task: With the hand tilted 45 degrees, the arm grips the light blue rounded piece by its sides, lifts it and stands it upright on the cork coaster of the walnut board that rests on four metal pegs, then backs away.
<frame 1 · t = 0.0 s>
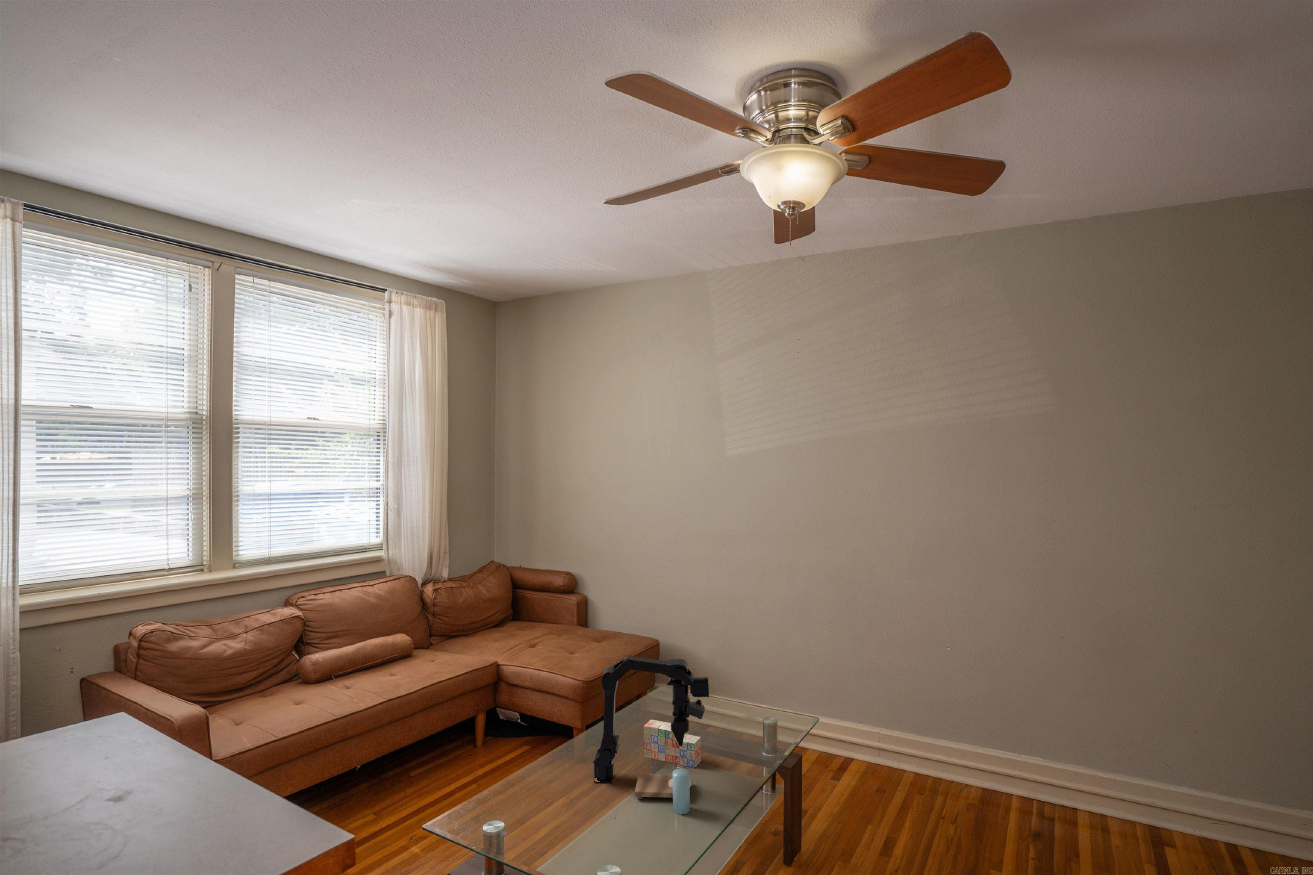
hand: (681, 739, 248), 15 cm above the table, tool pointing down, fingers open, 9 cm apart
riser: (662, 791, 241), on the table
light blue rounded piece: (681, 810, 229), on the table
stack of blocks: (672, 759, 265), on the table
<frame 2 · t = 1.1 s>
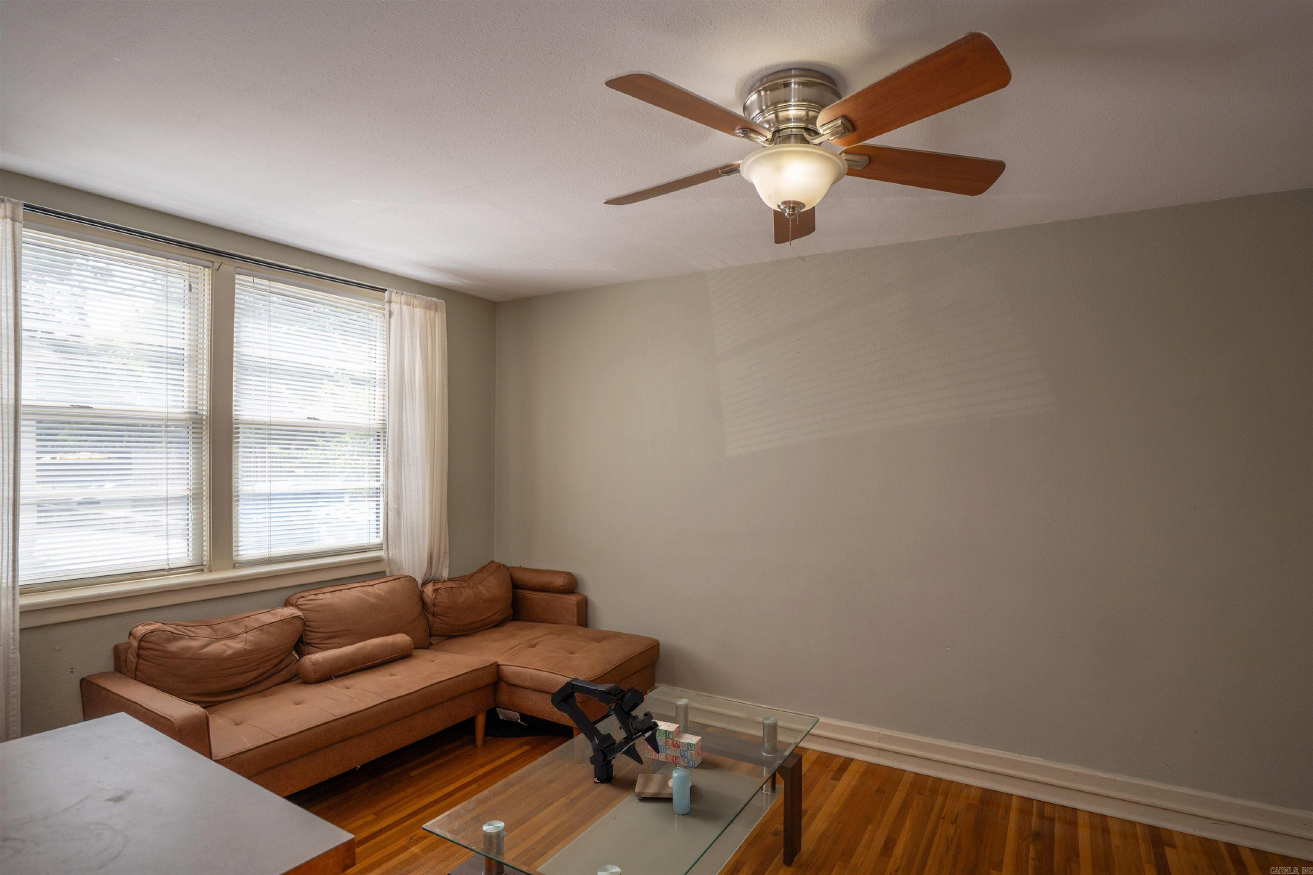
hand: (650, 758, 237), 13 cm above the table, tool tilted 45°, fingers open, 9 cm apart
nothing on the table moved.
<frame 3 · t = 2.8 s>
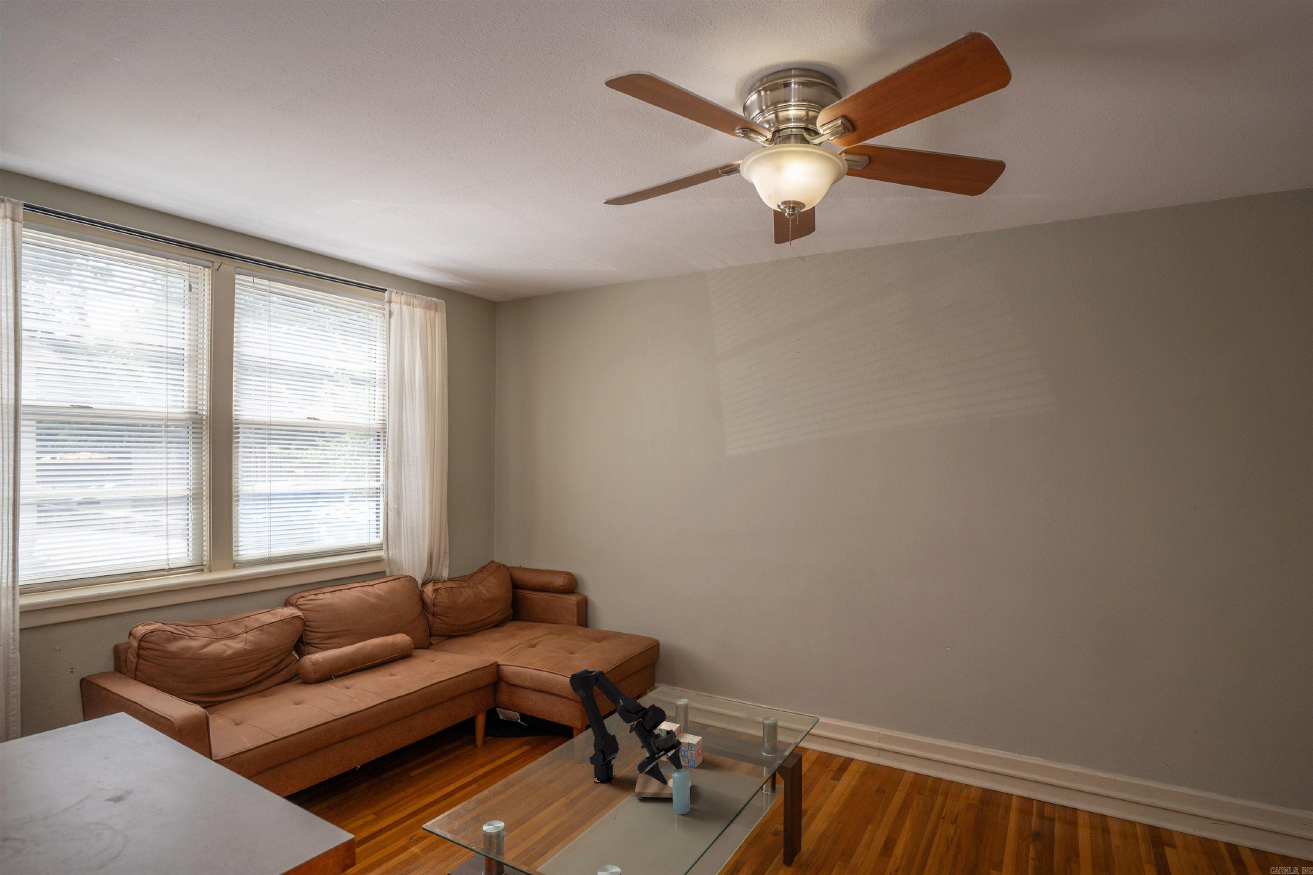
hand: (674, 778, 231), 10 cm above the table, tool tilted 45°, fingers open, 9 cm apart
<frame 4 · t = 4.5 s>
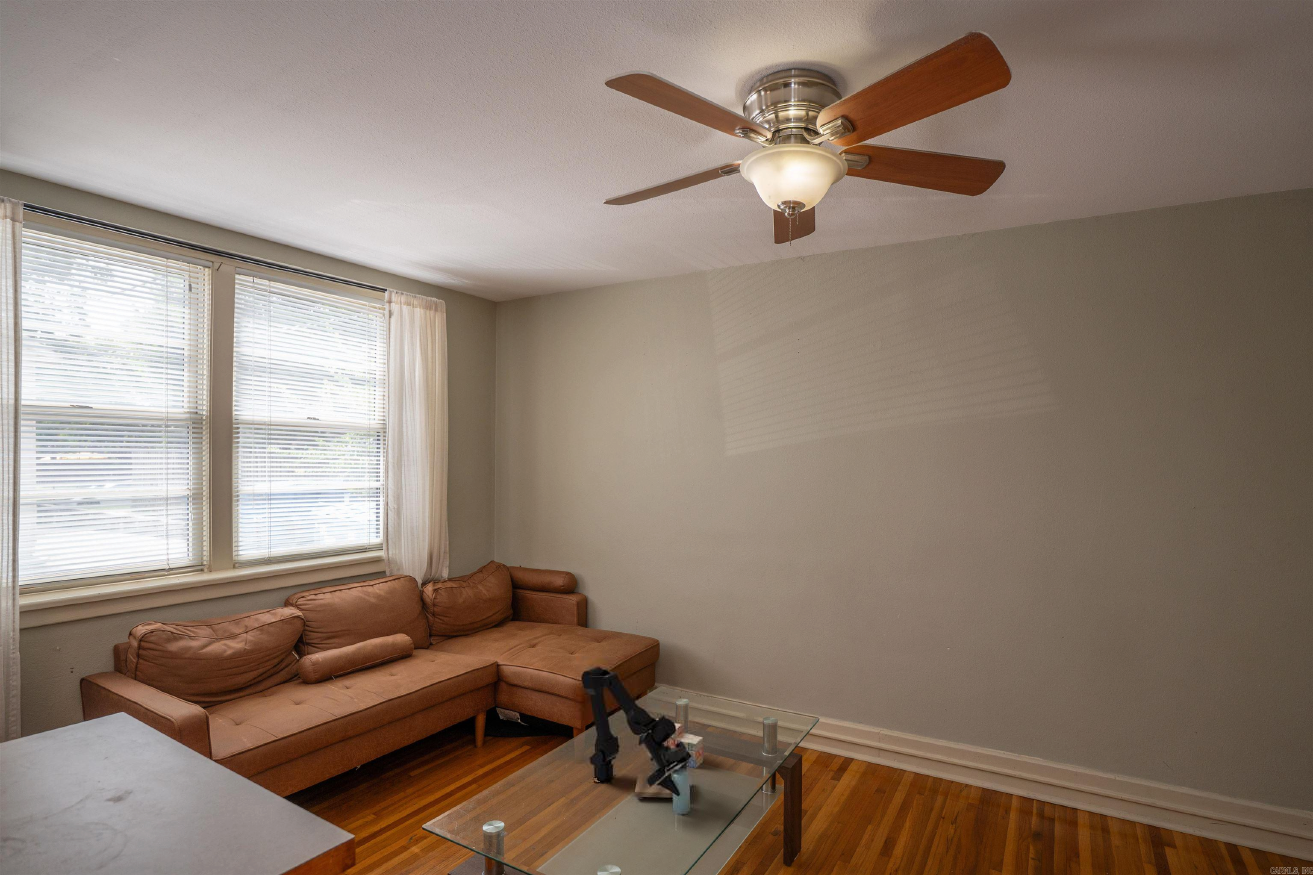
hand: (684, 791, 228), 7 cm above the table, tool tilted 45°, fingers closed on light blue rounded piece, 6 cm apart
light blue rounded piece: (681, 810, 229), on the table, touching gripper
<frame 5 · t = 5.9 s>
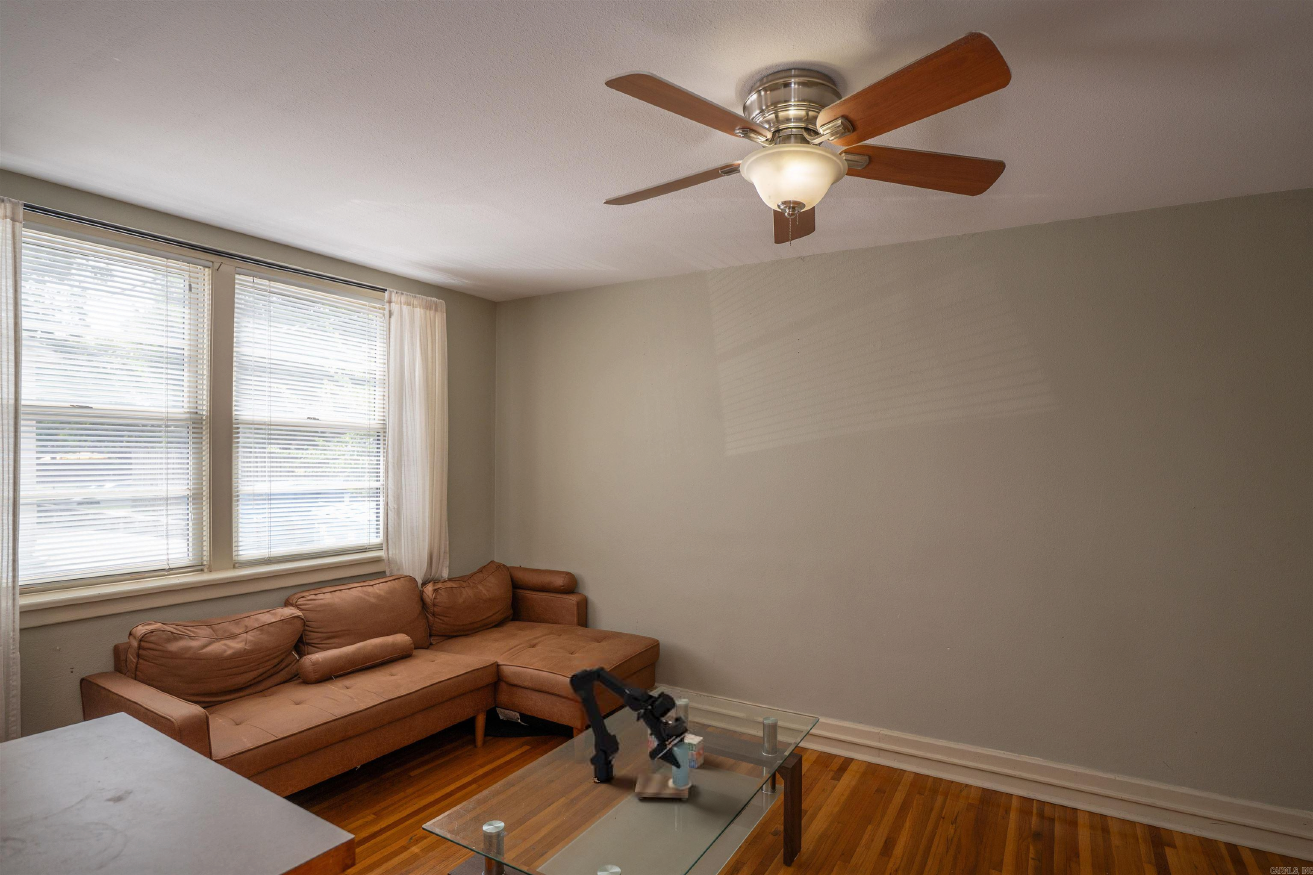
hand: (684, 764, 234), 13 cm above the table, tool tilted 45°, fingers closed on light blue rounded piece, 6 cm apart
light blue rounded piece: (680, 782, 234), point 6 cm above the table, touching gripper
when the fingers open (11 cm above the table, at t = 7.3 s): light blue rounded piece stays where it is, resting on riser.
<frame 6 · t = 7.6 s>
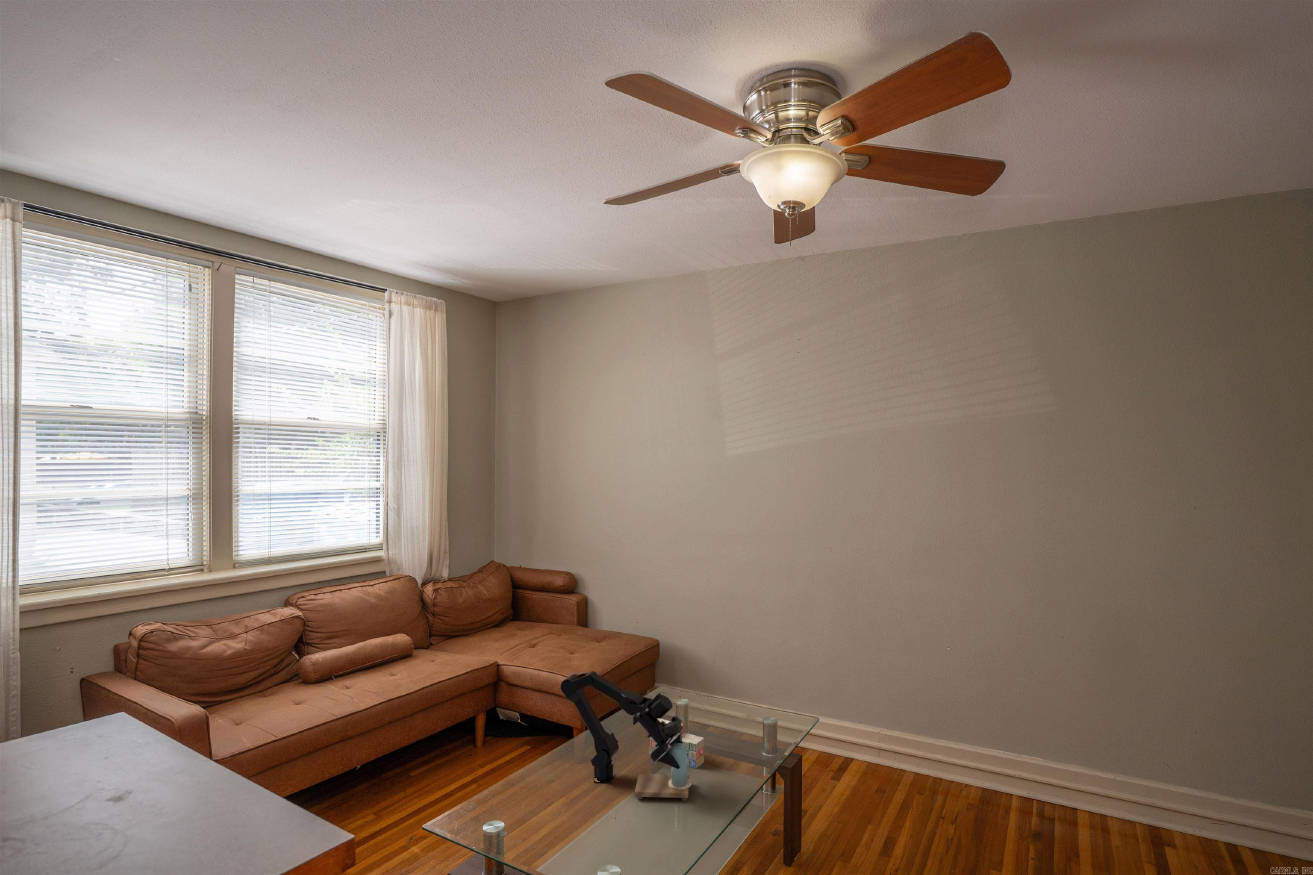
hand: (683, 762, 240), 11 cm above the table, tool tilted 45°, fingers open, 9 cm apart
light blue rounded piece: (679, 782, 240), point 3 cm above the table, touching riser
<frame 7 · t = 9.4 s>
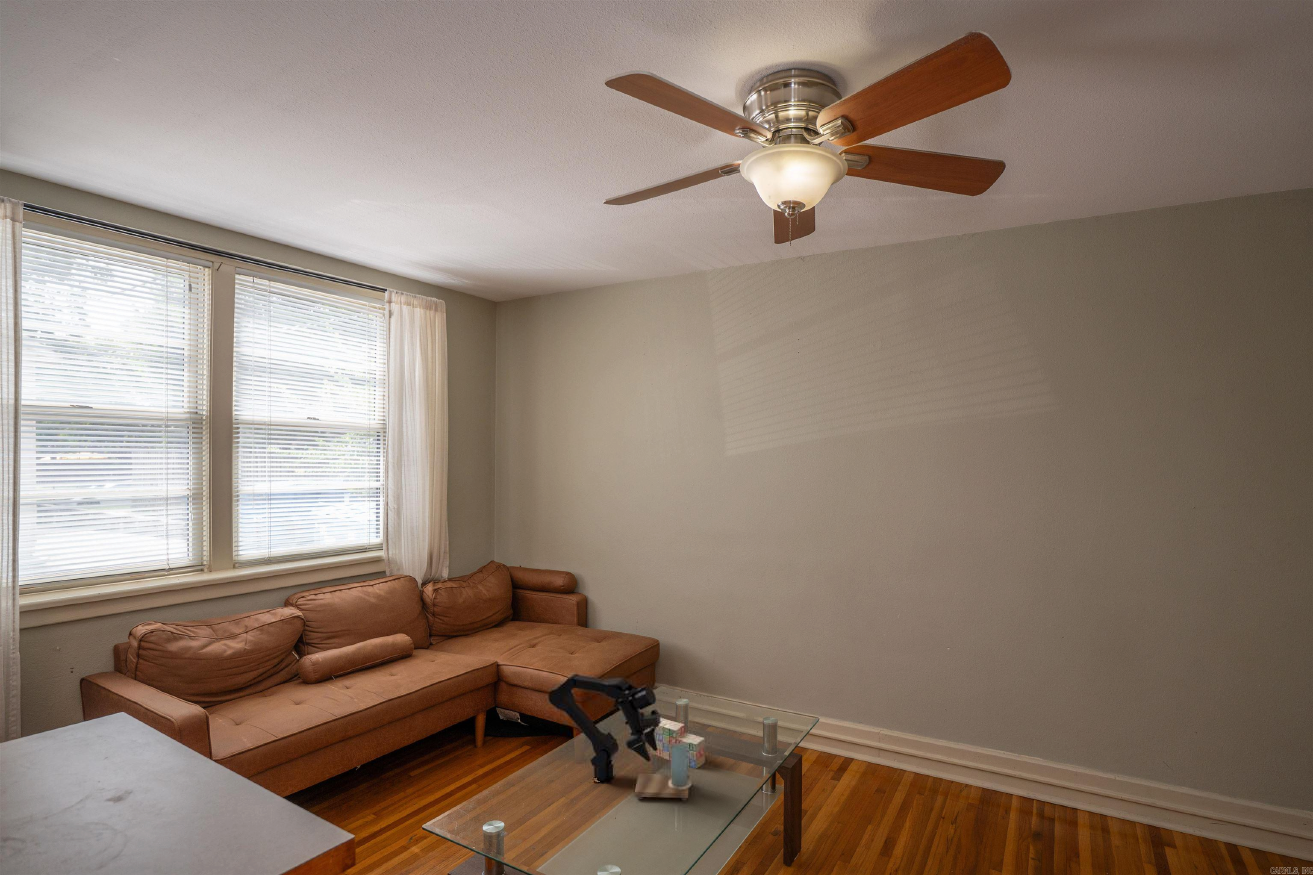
hand: (652, 755, 243), 12 cm above the table, tool tilted 30°, fingers open, 9 cm apart
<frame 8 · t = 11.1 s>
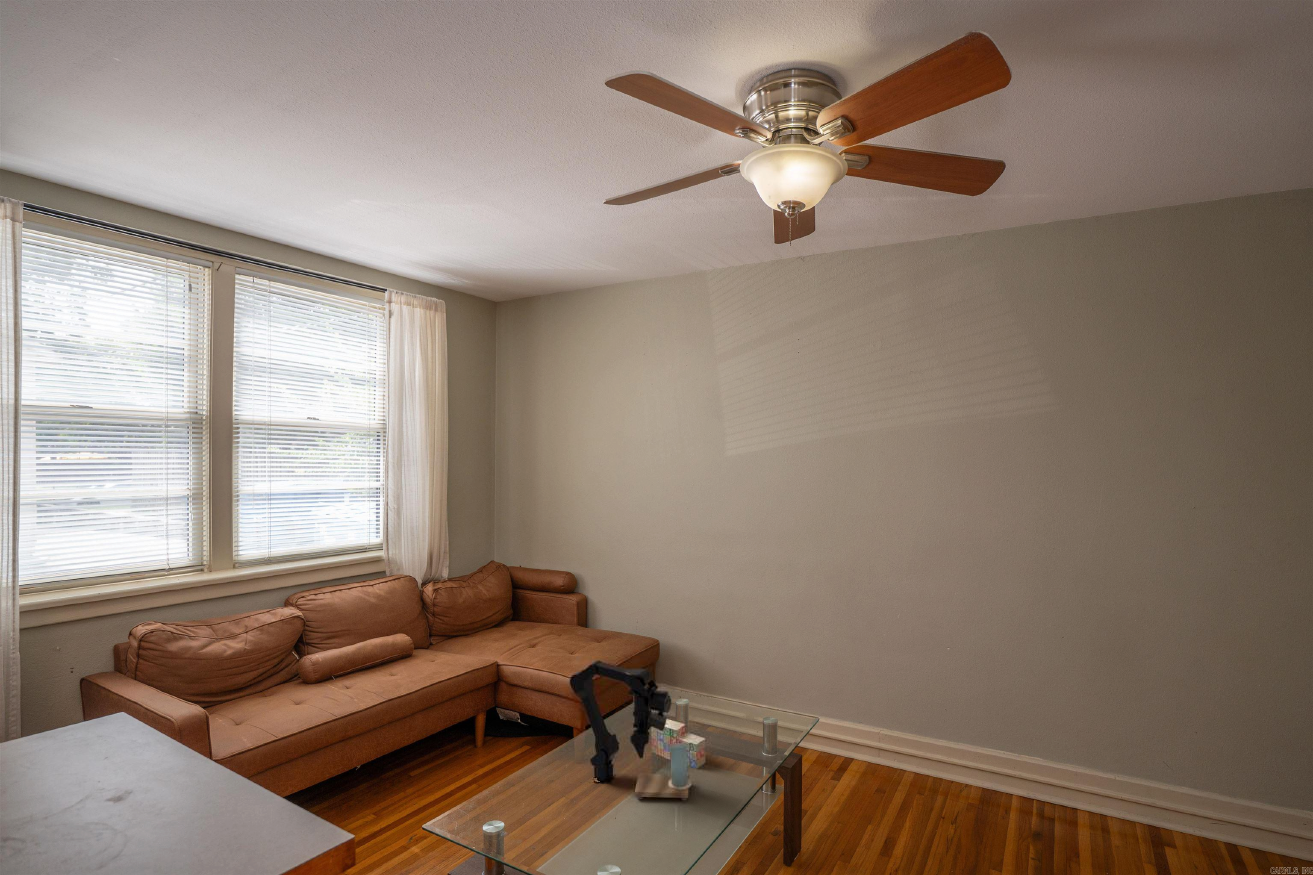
hand: (642, 751, 243), 13 cm above the table, tool pointing down, fingers open, 9 cm apart
at the end: light blue rounded piece 0.2 cm from the target spot on the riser, point 3.3 cm above the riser's base; light blue rounded piece tilted 0°; the gripper is holding nothing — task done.
